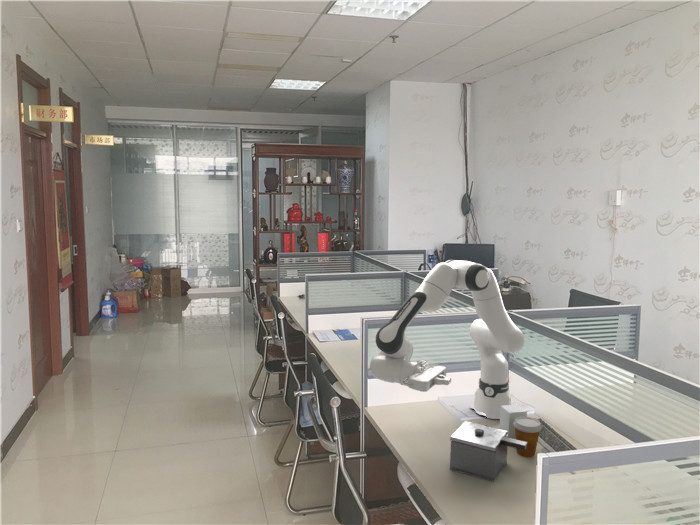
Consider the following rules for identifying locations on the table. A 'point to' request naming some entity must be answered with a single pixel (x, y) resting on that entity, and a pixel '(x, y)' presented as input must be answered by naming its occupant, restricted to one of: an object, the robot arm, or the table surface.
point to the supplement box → (510, 418)
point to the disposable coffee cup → (527, 435)
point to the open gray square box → (477, 460)
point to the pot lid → (485, 437)
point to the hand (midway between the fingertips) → (449, 381)
